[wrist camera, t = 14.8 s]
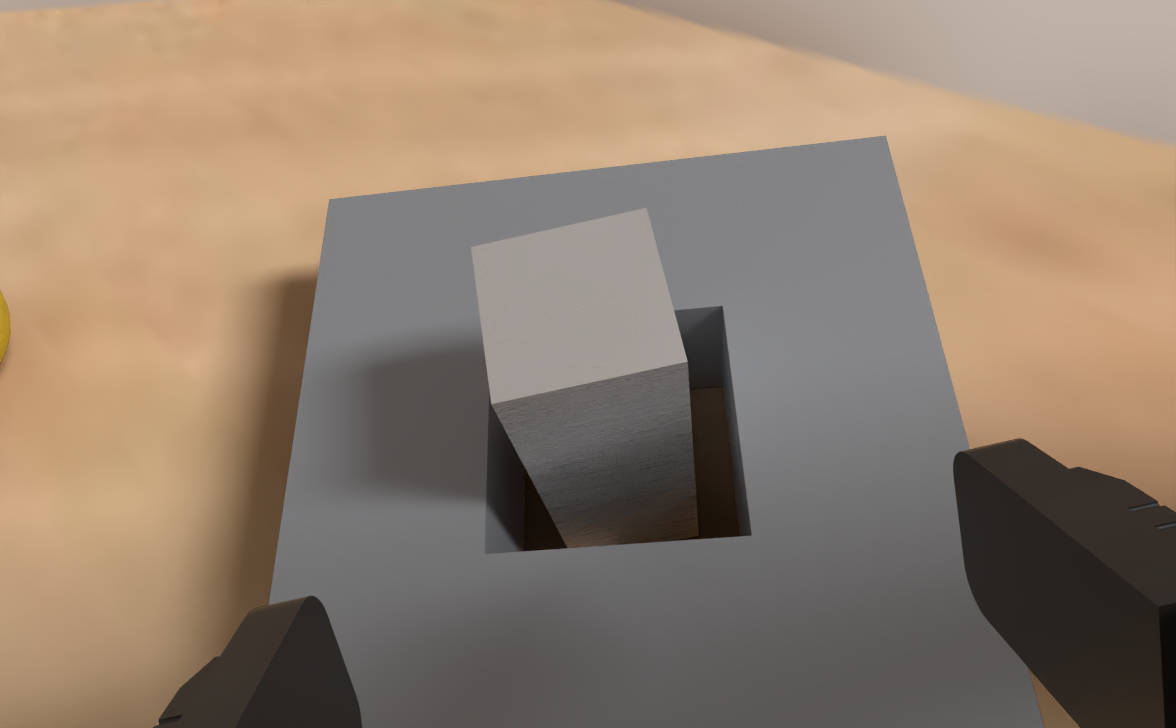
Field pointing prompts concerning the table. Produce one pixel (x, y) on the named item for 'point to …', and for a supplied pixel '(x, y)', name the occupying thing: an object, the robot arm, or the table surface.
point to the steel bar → (592, 378)
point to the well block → (659, 569)
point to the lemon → (4, 326)
